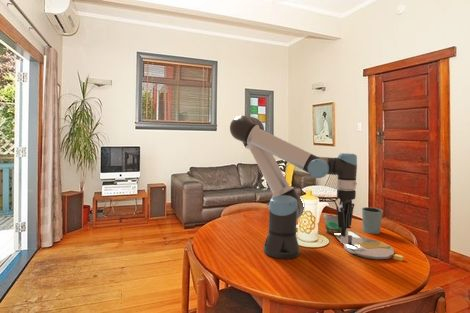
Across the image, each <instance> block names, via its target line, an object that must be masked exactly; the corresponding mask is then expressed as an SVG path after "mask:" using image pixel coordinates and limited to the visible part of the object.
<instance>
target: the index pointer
mask: <svg viewBox="0 0 470 313" xmlns="http://www.w3.org/2000/svg"><path fill="white" fill-rule="evenodd" d="M392 259H394V260H396V261H400V262H402V261H403V260H404V256H403V255H401V254H396V253H395V254H394V256H393V257H392Z"/></svg>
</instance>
